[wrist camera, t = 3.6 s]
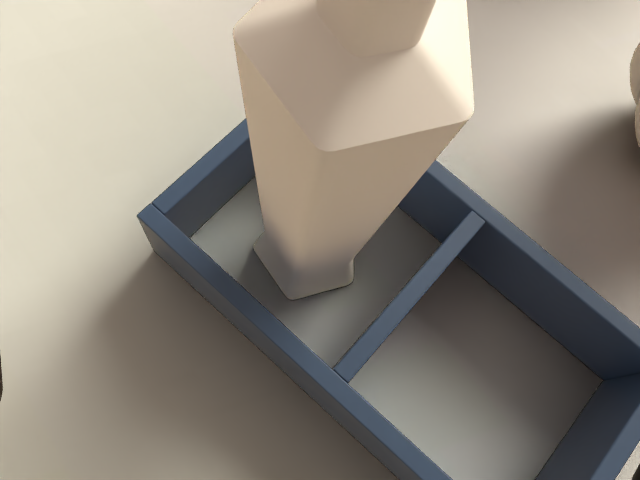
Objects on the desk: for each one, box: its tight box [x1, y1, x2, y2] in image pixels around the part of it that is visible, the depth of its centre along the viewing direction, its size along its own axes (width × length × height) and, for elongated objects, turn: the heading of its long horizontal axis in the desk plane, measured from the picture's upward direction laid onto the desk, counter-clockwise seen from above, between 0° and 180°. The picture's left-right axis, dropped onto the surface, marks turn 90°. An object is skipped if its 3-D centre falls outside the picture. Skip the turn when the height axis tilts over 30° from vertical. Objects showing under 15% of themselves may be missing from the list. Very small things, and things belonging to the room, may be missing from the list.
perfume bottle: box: [233, 0, 474, 300], centre depth 16 cm, size 5×4×15 cm
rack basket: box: [137, 119, 640, 480], centre depth 21 cm, size 8×16×4 cm, turn 48°
